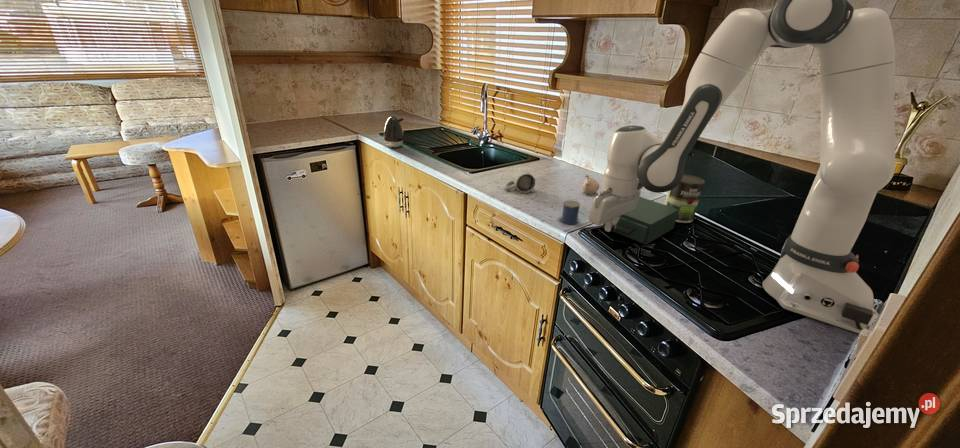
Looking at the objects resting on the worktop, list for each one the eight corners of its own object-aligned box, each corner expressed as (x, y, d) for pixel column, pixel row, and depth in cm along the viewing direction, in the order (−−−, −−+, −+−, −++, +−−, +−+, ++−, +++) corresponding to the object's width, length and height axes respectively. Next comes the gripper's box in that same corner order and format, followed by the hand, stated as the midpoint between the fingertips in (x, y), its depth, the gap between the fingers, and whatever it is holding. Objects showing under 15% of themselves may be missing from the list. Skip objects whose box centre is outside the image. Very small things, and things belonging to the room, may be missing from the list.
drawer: (634, 247, 117) (638, 232, 114) (594, 230, 125) (597, 216, 123) (669, 227, 130) (672, 213, 128) (630, 213, 139) (633, 200, 137)
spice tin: (580, 221, 133) (583, 204, 131) (570, 225, 130) (573, 207, 127) (567, 216, 137) (570, 199, 134) (558, 220, 133) (560, 202, 131)
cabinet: (645, 245, 120) (650, 224, 117) (602, 227, 130) (606, 208, 127) (673, 228, 132) (678, 209, 129) (631, 213, 142) (636, 195, 139)
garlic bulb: (579, 190, 161) (582, 170, 157) (595, 190, 161) (599, 171, 158) (583, 196, 155) (586, 176, 151) (599, 196, 155) (603, 177, 152)
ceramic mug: (528, 185, 163) (530, 167, 159) (534, 192, 155) (536, 173, 152) (503, 186, 161) (504, 168, 158) (508, 193, 154) (509, 174, 150)
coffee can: (699, 223, 136) (711, 184, 130) (669, 222, 136) (680, 183, 130) (684, 211, 146) (695, 174, 139) (656, 210, 145) (666, 173, 139)
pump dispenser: (405, 148, 204) (404, 118, 198) (384, 149, 202) (382, 118, 196) (404, 143, 213) (402, 114, 207) (383, 143, 211) (382, 114, 205)
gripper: (608, 196, 103) (598, 244, 109) (647, 181, 115) (637, 224, 121) (587, 189, 107) (579, 235, 113) (627, 175, 120) (618, 217, 125)
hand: (609, 230), depth 117 cm, fingers closed
